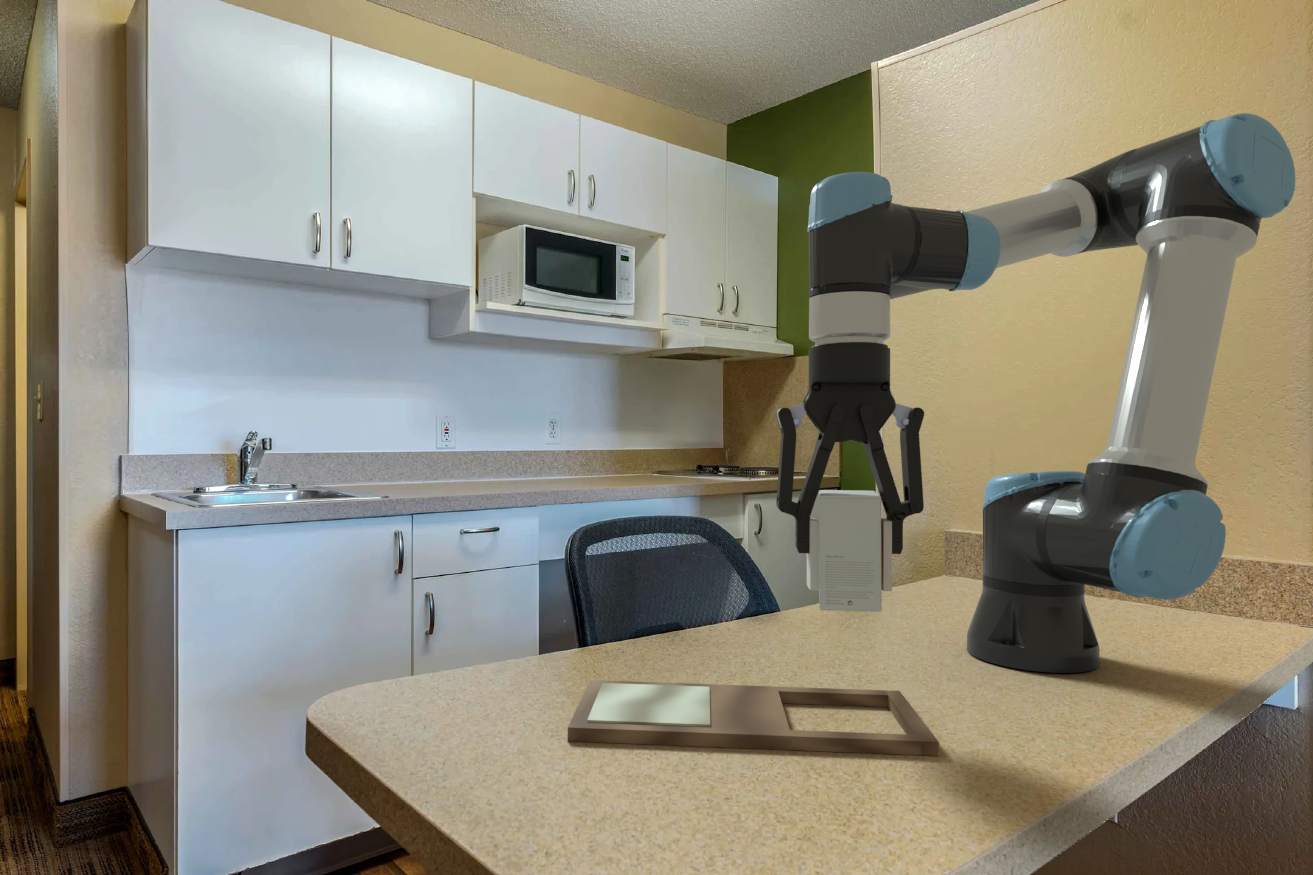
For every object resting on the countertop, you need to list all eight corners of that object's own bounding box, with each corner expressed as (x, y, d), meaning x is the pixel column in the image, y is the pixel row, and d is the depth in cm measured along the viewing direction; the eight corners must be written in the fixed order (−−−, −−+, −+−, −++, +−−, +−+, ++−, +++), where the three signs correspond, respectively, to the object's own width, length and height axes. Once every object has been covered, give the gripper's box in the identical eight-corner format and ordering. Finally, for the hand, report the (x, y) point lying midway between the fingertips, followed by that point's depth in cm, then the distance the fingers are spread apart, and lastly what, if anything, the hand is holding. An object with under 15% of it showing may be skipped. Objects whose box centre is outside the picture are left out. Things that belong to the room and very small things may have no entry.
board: (899, 702, 84) (899, 688, 84) (938, 755, 70) (938, 739, 70) (589, 691, 86) (589, 677, 86) (567, 740, 72) (567, 725, 72)
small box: (882, 613, 73) (882, 496, 73) (818, 611, 74) (818, 495, 74) (876, 596, 81) (876, 489, 81) (818, 593, 82) (818, 488, 82)
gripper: (940, 347, 80) (939, 581, 81) (745, 348, 81) (745, 579, 82) (964, 338, 73) (963, 597, 73) (749, 340, 74) (749, 594, 74)
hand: (848, 587), depth 77 cm, fingers closed on small box, 6 cm apart
